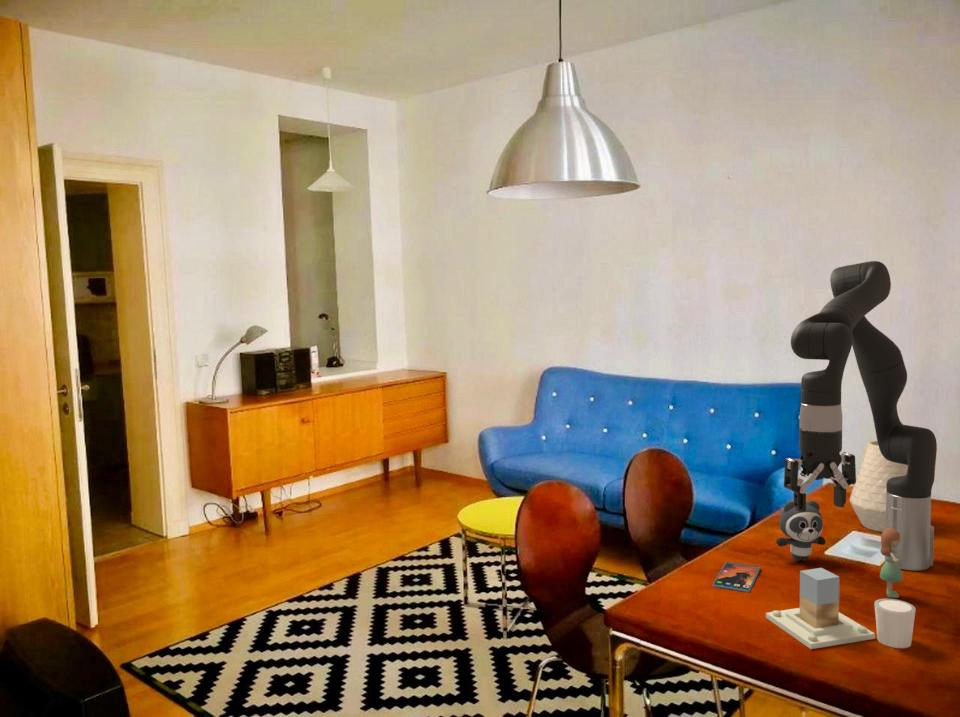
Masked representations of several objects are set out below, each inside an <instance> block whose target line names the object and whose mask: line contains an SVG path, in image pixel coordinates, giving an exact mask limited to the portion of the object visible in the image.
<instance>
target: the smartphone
mask: <svg viewBox="0 0 960 717" xmlns="http://www.w3.org/2000/svg"><path fill="white" fill-rule="evenodd" d="M760 571H761V567H760V566H758V565H752V564H745V563H738V562H737V563H736V562H731V561H726V562H725V563H724V564H723V566H722V568H721V570H720V571H719V573H718V574H717V576H716V578H715V580H714V582H713V583H712V587H713V588H717V589H722V590H723V589H724V590H725V589H726V590H733V591H737V592H742V593H746V594H747V593H750V592H751V590H752V589H753V586H754V584H755V582H756V580H757V578H758V576H759V574H760Z"/></svg>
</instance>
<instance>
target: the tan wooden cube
mask: <svg viewBox="0 0 960 717" xmlns="http://www.w3.org/2000/svg"><path fill="white" fill-rule="evenodd" d="M839 605H840V601H839V602H834V603H828V604H822V605H816V604H814V603H812V602H811V601H809V600H807V599H805V598H804V597H802V596H800V595H799V608H800V619H801V620H803V621H804V622H806V623H807V624H809V625H810V626H812V627H813V628H815V629H816V628H822V627H828V626H835V625H839V612H840V609H839V608H840V606H839Z"/></svg>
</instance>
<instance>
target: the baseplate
mask: <svg viewBox="0 0 960 717" xmlns="http://www.w3.org/2000/svg"><path fill="white" fill-rule="evenodd" d="M765 618H766V619H767V620H768V621H770V622H771V623H773V624H774V625H775V626H777V627H778V628H780V629H781V630H783V631H784V632H785V633H787V634H789V635H790V636H791V637H793V638H794V639H796V640H797V641H798V642H800V643H801V644H802V645H804V646H806V647H807V648H808V649H809V650H814V649H815V650H816V649H820V648H827V647H832V646H833V647H834V646H838V645H844V644H851V643H857V642H863V641H869V640H875V639H876V634H875V632H873V631H871V630H870V629H868V628H867V627H866V626H863V625H861V624H860V623H858V622H856V621H855V620H853V619H851V618H850V617H848V616H846V615H845V614H843V613H841V612H840V611H839V625H835V626H828V627H822V628H816V629H815V628H813V627H812V626H810V625H809V624H807V623H806V622H804V621H803V620H801V619H800V607H797V608H790V609H784V610H775V609H774V610H772V611H770V612H765Z"/></svg>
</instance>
